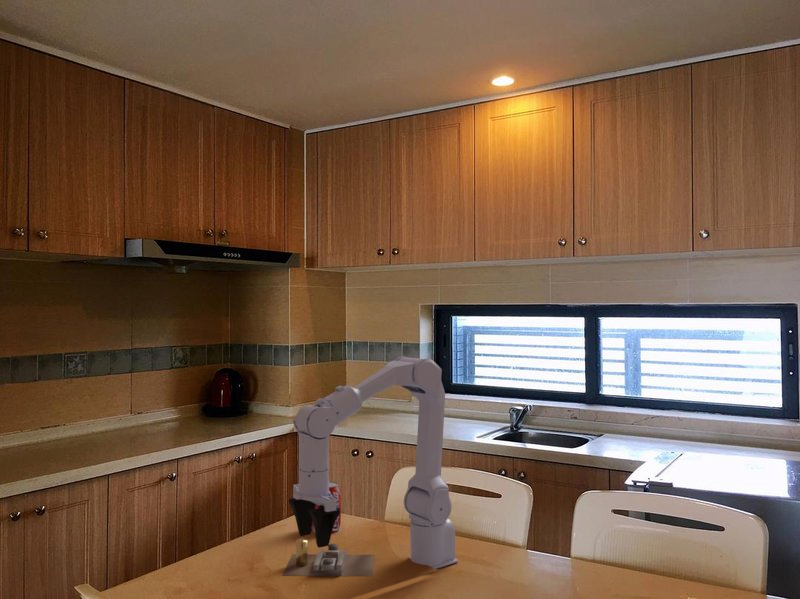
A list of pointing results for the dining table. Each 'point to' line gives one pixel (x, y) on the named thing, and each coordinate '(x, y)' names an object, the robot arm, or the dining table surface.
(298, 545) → the brass pin
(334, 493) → the soda can
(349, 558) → the grey mounting plate
